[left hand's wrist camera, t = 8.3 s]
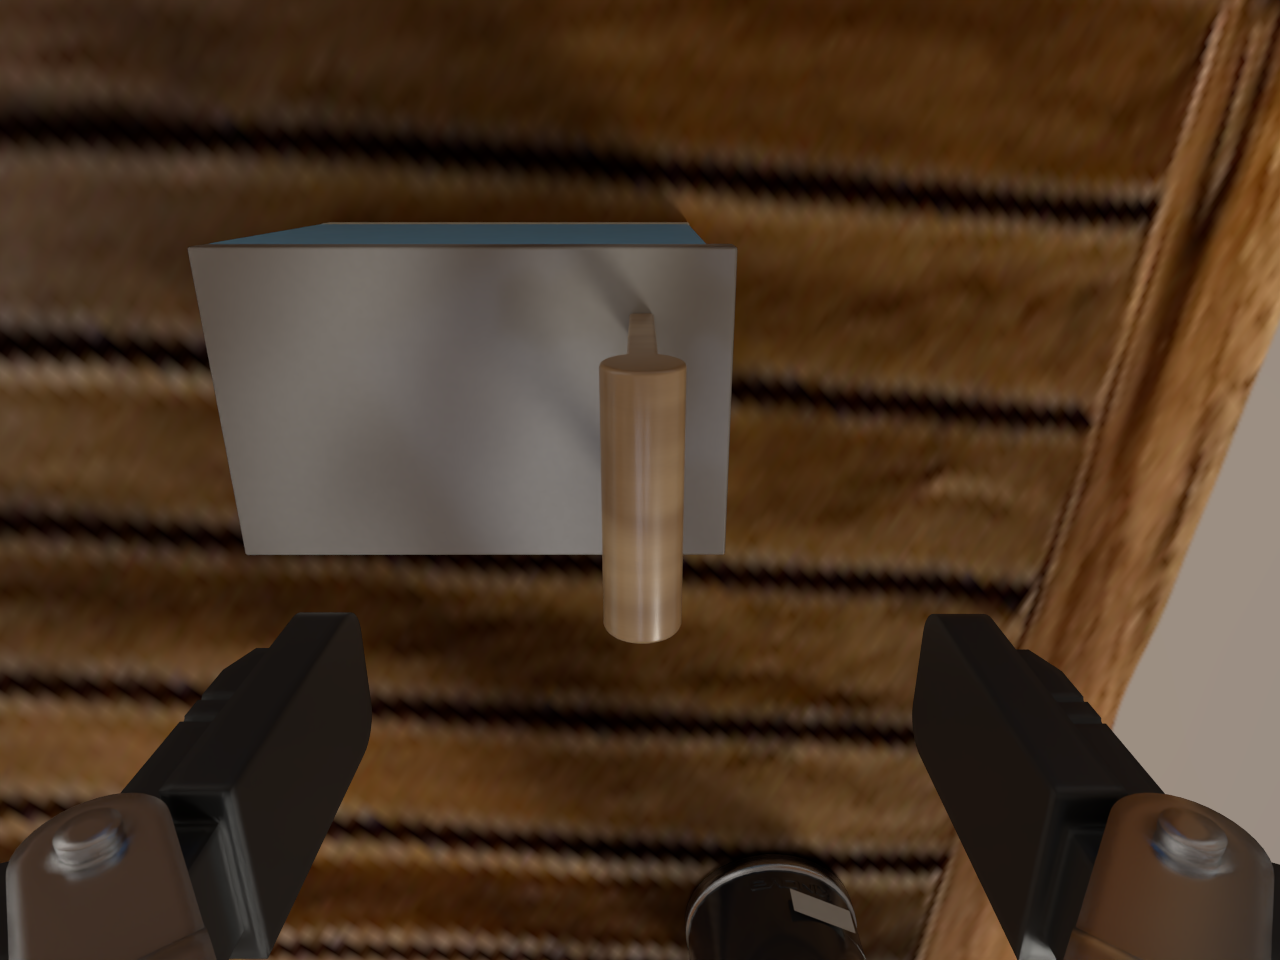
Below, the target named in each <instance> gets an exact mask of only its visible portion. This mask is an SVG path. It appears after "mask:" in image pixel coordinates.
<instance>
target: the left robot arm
mask: <svg viewBox="0 0 1280 960" xmlns="http://www.w3.org/2000/svg"><path fill="white" fill-rule="evenodd" d="M371 722H372V707H371V699H370V692H369V685H368V677H367V670H366V663H365V656H364V649H363V642H362V635H361V628H360V624H359V621H358V618H357V617H356V615H355V614H354V613H298V614H296V615H295V616H294V617H293V618H292V619H291V621H290V622H289V623H288V624H287V626H286V627H285V628H284V630H283V631H282V632H281V633H280V635H279V636H278V637H277V639H276V640H275V641H274V642H273V644H272V645H271V646H270V648H256V649H254V650H253V651H251V652H250V653H248V654H247V655H245V656H244V657H242V658H241V659H239V660H237V661H236V662H234V663H233V664H231V665H230V666H228V667H227V668H225V669H224V670H223V671H222V672H221V673H220V674H219V675H218V677H217V678H216V679H215V680H214V681H213V683H212V684H211V685H210V686H209V687H208V689H207V690H206V691H205V692H204V693H203V695H202V700H198V701H197V702H196V703H195V704H194V705H193V707H192V708H191V709H190V710H189V711H188V713H187V714H186V715H185V719H184V722H179V723H178V725H177V726H176V727H175V728H174V729H173V731H172V732H171V733H170V734H169V735H168V737H167V738H166V739H165V740H164V741H163V743H162V744H161V745H160V746H159V747H158V749H157V750H156V751H155V752H154V753H153V755H152V756H151V757H150V758H149V759H148V761H147V762H146V763H145V764H144V765H143V767H142V768H141V769H140V770H139V771H138V773H137V774H136V775H135V776H134V777H133V779H132V780H131V781H130V782H129V783H128V785H127V786H126V787H125V788H124V789H123V791H122V792H121V793H120V794H113V795H108V796H104V797H99V798H96V799H93V800H90V801H87V802H84V803H82V804H79V805H77V806H74V807H72V808H70V809H68V810H66V811H64V812H62V813H60V814H58V815H57V816H55V817H53V818H52V819H50V820H49V821H47V822H45V823H44V824H43V825H41V826H40V827H39V828H37V829H36V830H35V831H34V832H33V833H31V834H30V835H29V836H28V837H27V838H26V839H25V840H24V841H23V842H22V843H21V844H20V846H19V847H18V848H17V849H16V851H15V852H14V854H13V855H12V857H11V858H10V861H9V862H5V863H1V864H0V960H229V959H268V957H269V955H270V952H271V950H272V948H273V946H274V944H275V942H276V940H277V938H278V935H279V933H280V931H281V929H282V927H283V925H284V923H285V921H286V919H287V916H288V914H289V912H290V910H291V908H292V906H293V904H294V902H295V899H296V897H297V895H298V893H299V891H300V889H301V887H302V885H303V883H304V880H305V878H306V876H307V874H308V872H309V870H310V868H311V866H312V863H313V861H314V859H315V857H316V855H317V853H318V851H319V849H320V847H321V844H322V842H323V840H324V838H325V836H326V834H327V832H328V830H329V827H330V825H331V823H332V821H333V819H334V817H335V815H336V813H337V811H338V808H339V806H340V804H341V802H342V800H343V798H344V796H345V794H346V791H347V789H348V787H349V785H350V783H351V781H352V779H353V777H354V775H355V772H356V770H357V768H358V766H359V764H360V762H361V760H362V758H363V755H364V753H365V751H366V748H367V745H368V741H369V737H370V731H371ZM912 722H913V732H914V738H915V742H916V746H917V749H918V752H919V754H920V757H921V759H922V761H923V763H924V765H925V767H926V769H927V771H928V773H929V776H930V778H931V780H932V782H933V784H934V786H935V788H936V790H937V792H938V794H939V796H940V799H941V801H942V803H943V805H944V807H945V809H946V811H947V813H948V815H949V817H950V819H951V822H952V824H953V826H954V828H955V830H956V832H957V834H958V836H959V838H960V840H961V842H962V845H963V847H964V849H965V851H966V853H967V855H968V857H969V859H970V861H971V863H972V865H973V868H974V870H975V872H976V874H977V876H978V878H979V880H980V882H981V884H982V886H983V889H984V891H985V893H986V895H987V897H988V899H989V901H990V903H991V905H992V907H993V909H994V912H995V914H996V916H997V918H998V920H999V922H1000V924H1001V926H1002V928H1003V930H1004V932H1005V935H1006V937H1007V939H1008V941H1009V943H1010V945H1011V947H1012V949H1013V951H1014V953H1015V955H1016V958H1017V960H1280V865H1279V864H1275V863H1272V862H1271V861H1270V858H1269V857H1268V855H1267V854H1266V852H1265V851H1264V849H1263V848H1262V847H1261V846H1260V845H1259V843H1258V842H1257V841H1256V840H1255V839H1254V838H1253V837H1252V836H1251V835H1250V834H1249V833H1247V832H1246V831H1245V830H1244V829H1243V828H1241V827H1240V826H1239V825H1237V824H1236V823H1234V822H1233V821H1231V820H1230V819H1228V818H1227V817H1225V816H1223V815H1221V814H1220V813H1218V812H1216V811H1214V810H1212V809H1210V808H1208V807H1206V806H1203V805H1201V804H1198V803H1196V802H1193V801H1190V800H1187V799H1184V798H1181V797H1176V796H1172V795H1167V794H1165V793H1164V792H1163V791H1162V790H1161V789H1160V787H1159V786H1158V785H1157V784H1156V783H1155V782H1154V780H1153V779H1152V778H1151V777H1150V776H1149V774H1148V773H1147V772H1146V771H1145V770H1144V768H1143V767H1142V766H1141V765H1140V764H1139V763H1138V761H1137V760H1136V759H1135V758H1134V757H1133V755H1132V754H1131V753H1130V752H1129V751H1128V749H1127V748H1126V747H1125V746H1124V745H1123V744H1122V742H1121V741H1120V740H1119V739H1118V738H1117V736H1116V735H1115V734H1114V733H1113V732H1112V730H1111V729H1110V728H1109V727H1108V726H1107V724H1102V722H1101V717H1100V716H1099V715H1098V714H1097V713H1096V711H1095V710H1094V709H1093V708H1092V707H1091V705H1090V704H1089V703H1088V702H1084V701H1083V696H1082V695H1081V694H1080V692H1079V691H1078V690H1077V689H1076V688H1075V686H1074V685H1073V684H1072V683H1071V682H1070V680H1069V679H1068V678H1067V677H1066V676H1065V675H1064V673H1063V672H1062V671H1060V670H1059V669H1057V668H1056V667H1054V666H1053V665H1051V664H1050V663H1048V662H1047V661H1045V660H1044V659H1042V658H1041V657H1039V656H1037V655H1036V654H1034V653H1033V652H1031V651H1030V650H1016V649H1015V648H1014V647H1013V645H1012V644H1011V643H1010V641H1009V640H1008V639H1007V638H1006V636H1005V635H1004V634H1003V632H1002V631H1001V630H1000V629H999V627H998V626H997V625H996V624H995V622H994V621H993V620H992V619H991V618H990V616H988V615H986V614H931V615H930V616H929V617H928V618H927V620H926V623H925V626H924V631H923V638H922V645H921V652H920V659H919V666H918V673H917V680H916V687H915V694H914V701H913V709H912ZM685 926H686V941H687V946H688V949H689V960H866V959H865V956H864V952H863V949H862V945H861V942H860V938H859V935H858V931H857V924H856V918H855V914H854V910H853V907H852V903H851V900H850V897H849V894H848V892H847V890H846V889H845V887H844V885H843V884H842V883H841V881H840V880H839V879H838V878H837V877H836V876H835V875H834V874H832V873H831V872H830V871H829V870H827V869H826V868H824V867H822V866H821V865H819V864H817V863H814V862H812V861H810V860H807V859H804V858H800V857H796V856H790V855H781V854H766V855H757V856H751V857H746V858H743V859H739V860H736V861H734V862H731V863H729V864H727V865H725V866H723V867H721V868H719V869H717V870H716V871H714V872H713V873H712V874H710V875H709V876H708V877H707V878H705V879H704V880H703V881H702V882H701V883H700V884H699V886H698V887H697V888H696V890H695V891H694V893H693V894H692V896H691V898H690V900H689V902H688V905H687V909H686V914H685Z"/></svg>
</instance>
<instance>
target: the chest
mask: <svg viewBox="0 0 1280 960" xmlns="http://www.w3.org/2000/svg"><path fill="white" fill-rule="evenodd" d="M210 244H706V243H705V242H704V241H703V240H702V239H701V238H700V237H699V236H698V235H697V234H696V232H695V231H694V230H693V229H692V228H691V227H690V226H689V223H688V222H328V223H323V224H320V225H314V226H309V227H303V228H297V229H291V230H285V231H279V232H274V233H268V234H262V235H256V236H250V237H245V238H239V239H233V240H227V241H221V242H215V243H210Z"/></svg>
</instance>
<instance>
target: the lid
mask: <svg viewBox="0 0 1280 960" xmlns="http://www.w3.org/2000/svg"><path fill="white" fill-rule="evenodd" d="M188 254H189V259H190V264H191V269H192V275H193V280H194V285H195V290H196V296H197V301H198V306H199V311H200V316H201V322H202V327H203V332H204V337H205V343H206V348H207V353H208V358H209V364H210V369H211V374H212V379H213V385H214V390H215V395H216V400H217V406H218V411H219V416H220V421H221V426H222V432H223V437H224V442H225V447H226V453H227V458H228V463H229V468H230V474H231V479H232V484H233V489H234V495H235V500H236V505H237V510H238V516H239V521H240V526H241V531H242V536H243V542H244V547H245V552H246V554H247V555H571V554H602V565H603V620H604V626H605V628H606V630H607V631H608V632H609V633H610V634H611V635H612V636H614V637H615V638H617V639H620V640H622V641H626V642H631V643H641V644H644V643H654V642H659V641H663V640H665V639H668V638H670V637H671V636H673V635H674V634H675V633H676V632H677V631H678V629H679V628H680V626H681V611H682V563H683V554H724V553H725V535H726V511H727V486H728V462H729V438H730V413H731V389H732V365H733V341H734V316H735V292H736V268H737V247H735V246H734V245H732V244H203V245H198V246H192V247H188Z"/></svg>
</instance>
